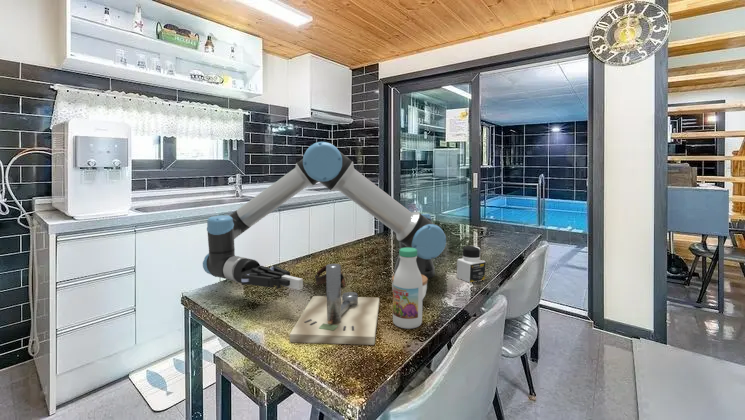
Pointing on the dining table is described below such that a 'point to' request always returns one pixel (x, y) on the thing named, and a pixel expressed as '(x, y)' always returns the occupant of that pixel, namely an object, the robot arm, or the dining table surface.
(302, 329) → the dial board
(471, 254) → the medicine bottle
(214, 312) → the dining table surface
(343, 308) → the lever
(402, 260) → the milk bottle
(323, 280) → the pottery mug
